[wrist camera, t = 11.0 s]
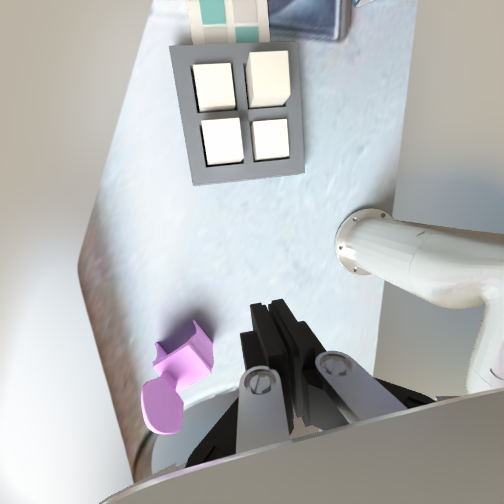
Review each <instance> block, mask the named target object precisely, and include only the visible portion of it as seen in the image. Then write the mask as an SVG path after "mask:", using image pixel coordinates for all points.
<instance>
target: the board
mask: <svg viewBox="0 0 504 504" xmlns="http://www.w3.org/2000/svg"><path fill="white" fill-rule="evenodd" d="M186 3H187V10H188V16H189V23H190V29H191V36H192V43H193V45H180V46H169V49H170V55H171V61H172V67H173V73H174V78H175V84H176V90H177V96H178V101H179V107H180V113H181V119H182V124H183V130H184V136H185V142H186V148H187V153H188V159H189V165H190V171H191V176H192V182H193V185H194V186H201V185H210V184H219V183H227V182H236V181H245V180H254V179H263V178H272V177H281V176H289V175H298V174H302V173H305V165H304V146H303V128H302V109H301V91H300V72H299V54H298V41H284V42H270V33H269V20H268V8H267V0H186ZM270 51H288V63H289V78H290V94H291V95H290V96H289V97H288V99H287V100H286V101H285V103H284V104H283V105H282V106H279V107H276V108H263V109H249V110H248V105H247V96H246V87H245V77H244V76H245V75H246V70H245V69H246V65H247V61H248V57H249V53H250V52H270ZM222 63H231V72H232V80H233V89H234V97H235V111H223V112H209V113H198V112H197V106H196V99H195V93H194V86H193V80H192V78H195V76H194V69H193V65H201V64H222ZM229 118H239V121H240V129H241V138H242V147H243V155H244V158H243V159H242V161H241V164H236V165H227V166H217V167H207V168H206V163H205V157H204V150H203V144H202V138H201V131H203V129H202V122H201V121H204V120H217V119H229ZM279 119H287V129H288V144H289V156H287V157H285V158H283V160H275V161H265V162H255V163H254V162H253V152H252V143H251V134H250V127H251V125H252V123H253V122H254V121H267V120H279Z"/></svg>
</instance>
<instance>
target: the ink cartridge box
mask: <svg viewBox="0 0 504 504" xmlns="http://www.w3.org/2000/svg"><path fill="white" fill-rule="evenodd" d="M353 1H354V5H355V7H359V6H362V5H364V4H367V3H369V2H372V1H374V0H353Z"/></svg>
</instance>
